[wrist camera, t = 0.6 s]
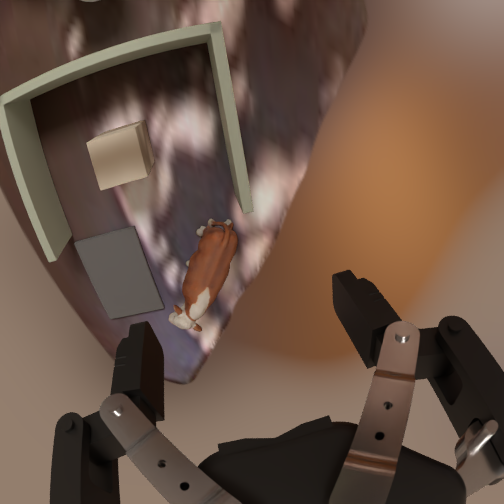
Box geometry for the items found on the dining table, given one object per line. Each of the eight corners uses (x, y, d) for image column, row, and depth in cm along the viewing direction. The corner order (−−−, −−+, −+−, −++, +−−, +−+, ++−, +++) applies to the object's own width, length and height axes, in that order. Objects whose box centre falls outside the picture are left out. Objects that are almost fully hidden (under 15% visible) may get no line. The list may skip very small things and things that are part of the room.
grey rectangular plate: (75, 241, 35) (74, 243, 34) (134, 225, 35) (133, 227, 35) (110, 316, 41) (110, 319, 40) (164, 305, 41) (164, 308, 41)
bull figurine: (164, 290, 40) (162, 334, 33) (209, 199, 36) (215, 231, 29) (195, 301, 42) (198, 345, 35) (243, 214, 37) (257, 248, 30)
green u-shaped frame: (21, 95, 25) (-6, 99, 20) (215, 32, 27) (220, 21, 21) (65, 236, 34) (49, 262, 29) (243, 191, 36) (253, 211, 31)
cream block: (104, 132, 29) (86, 142, 24) (144, 119, 30) (134, 127, 24) (115, 171, 32) (100, 190, 26) (154, 160, 32) (147, 176, 27)
